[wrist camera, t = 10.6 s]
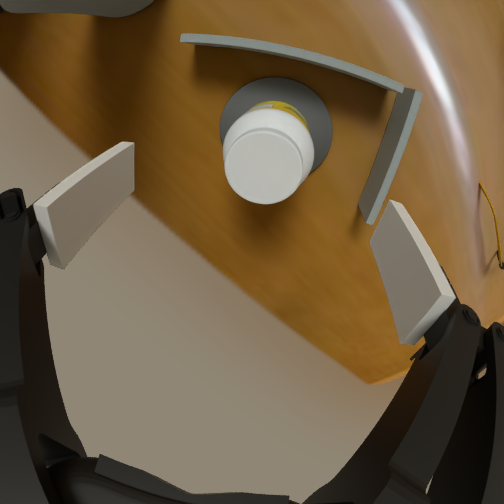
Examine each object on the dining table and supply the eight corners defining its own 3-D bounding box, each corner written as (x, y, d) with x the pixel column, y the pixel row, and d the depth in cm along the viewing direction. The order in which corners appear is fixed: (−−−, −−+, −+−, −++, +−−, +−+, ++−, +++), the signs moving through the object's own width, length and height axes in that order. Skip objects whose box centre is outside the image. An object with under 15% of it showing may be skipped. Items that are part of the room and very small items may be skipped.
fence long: (194, 45, 21) (179, 41, 17) (196, 37, 20) (181, 33, 17) (387, 89, 21) (402, 93, 18) (389, 82, 20) (404, 85, 17)
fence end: (357, 204, 29) (365, 222, 26) (399, 86, 20) (415, 89, 17) (364, 206, 29) (372, 224, 26) (406, 89, 20) (423, 93, 17)
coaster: (213, 168, 29) (213, 170, 28) (230, 68, 22) (230, 68, 22) (314, 192, 29) (315, 193, 28) (344, 94, 22) (345, 94, 22)
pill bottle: (308, 162, 26) (317, 219, 17) (244, 162, 27) (217, 218, 18) (307, 98, 23) (319, 116, 13) (238, 100, 24) (203, 120, 14)
